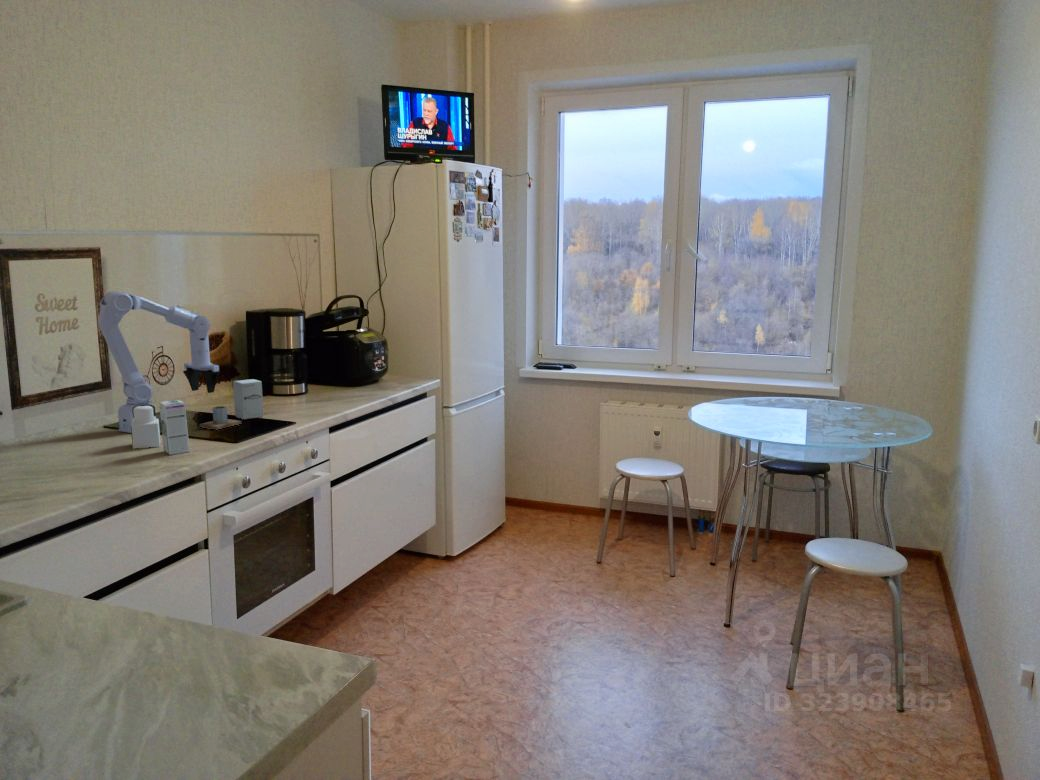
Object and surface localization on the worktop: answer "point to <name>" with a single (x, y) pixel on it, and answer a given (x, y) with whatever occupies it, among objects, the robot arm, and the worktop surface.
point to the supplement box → (248, 398)
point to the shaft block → (219, 426)
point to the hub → (220, 415)
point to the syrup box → (174, 427)
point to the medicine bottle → (145, 427)
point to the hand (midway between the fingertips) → (203, 391)
